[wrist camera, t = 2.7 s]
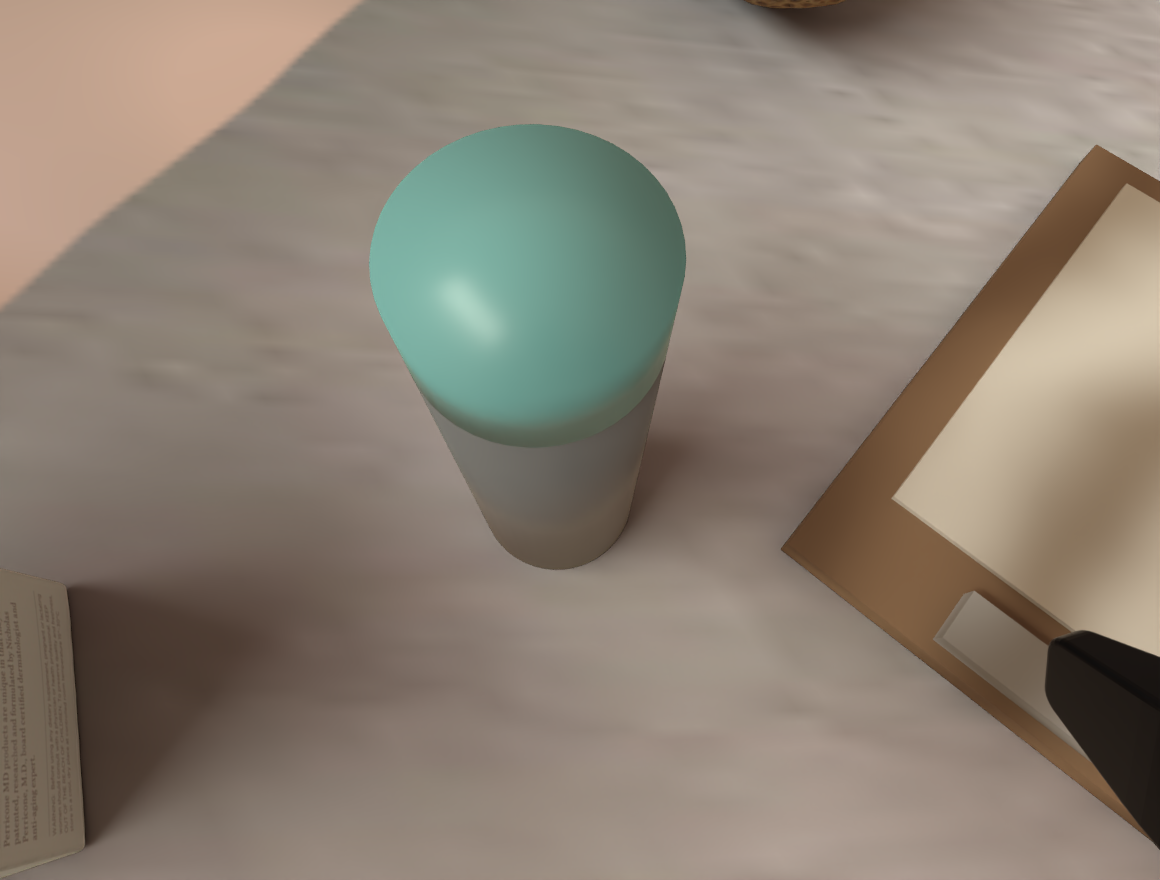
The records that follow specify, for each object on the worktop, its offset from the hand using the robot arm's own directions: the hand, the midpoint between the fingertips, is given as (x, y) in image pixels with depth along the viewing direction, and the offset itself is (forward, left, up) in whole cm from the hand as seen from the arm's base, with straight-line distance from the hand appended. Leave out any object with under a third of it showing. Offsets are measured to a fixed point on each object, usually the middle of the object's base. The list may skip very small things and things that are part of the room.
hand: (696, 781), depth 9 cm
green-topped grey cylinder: (+6, -4, -13) cm, 14 cm away
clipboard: (-7, -16, -13) cm, 21 cm away
